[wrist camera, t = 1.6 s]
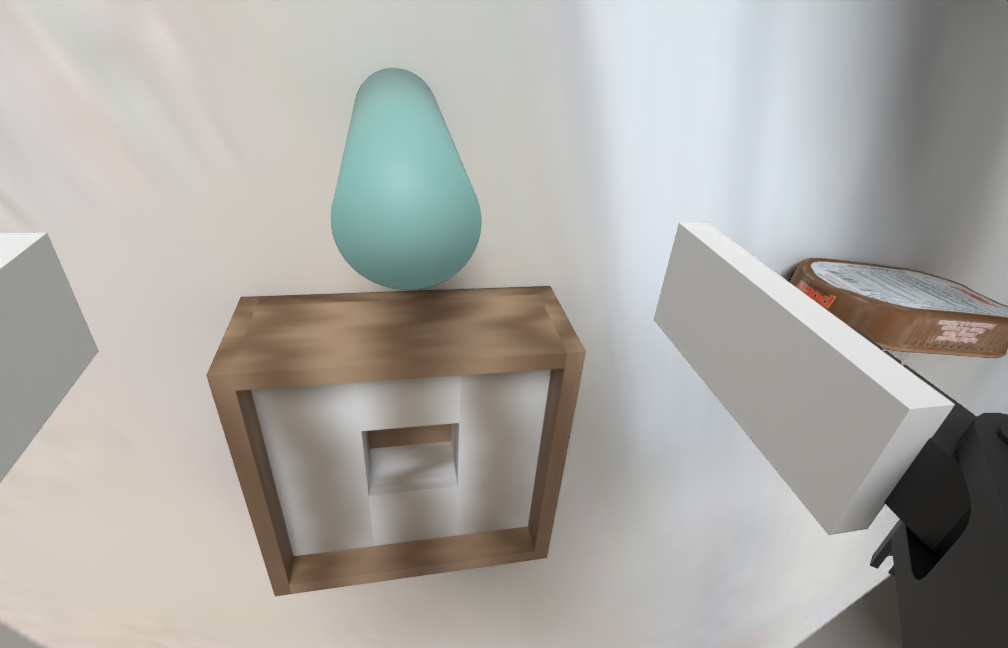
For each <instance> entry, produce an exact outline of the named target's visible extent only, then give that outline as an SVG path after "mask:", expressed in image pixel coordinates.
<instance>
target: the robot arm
mask: <svg viewBox="0 0 1008 648" xmlns="http://www.w3.org/2000/svg"><path fill="white" fill-rule="evenodd" d="M654 321H655V322H656V323H657V324H658V326H659V327H660V328H661V329H662V331H663V332H664V333H665V334H666V336H667V337H668V338H669V339H670V340H671V342H672V343H673V344H674V345H675V347H676V348H677V349H678V350H679V352H680V353H681V354H682V355H683V356H684V358H685V359H686V360H687V361H688V363H689V364H690V365H691V366H692V368H693V369H694V370H695V371H696V372H697V374H698V375H699V376H700V377H701V379H702V380H703V381H704V382H705V384H706V385H707V386H708V387H709V388H710V390H711V391H712V392H713V393H714V395H715V396H716V397H717V398H718V400H719V401H720V402H721V403H722V404H723V406H724V407H725V408H726V409H727V411H728V412H729V413H730V414H731V416H732V417H733V418H734V419H735V420H736V422H737V423H738V424H739V425H740V427H741V428H742V429H743V430H744V432H745V433H746V434H747V435H748V436H749V438H750V439H751V440H752V441H753V443H754V444H755V445H756V446H757V448H758V449H759V450H760V451H761V452H762V454H763V455H764V456H765V457H766V459H767V460H768V461H769V462H770V464H771V465H772V466H773V467H774V468H775V470H776V471H777V472H778V473H779V475H780V476H781V477H782V478H783V480H784V481H785V482H786V483H787V484H788V486H789V487H790V488H791V489H792V491H793V492H794V493H795V494H796V496H797V497H798V498H799V499H800V500H801V502H802V503H803V504H804V505H805V507H806V508H807V509H808V510H809V512H810V513H811V514H812V515H813V516H814V518H815V519H816V520H817V521H818V523H819V524H820V525H821V526H822V528H823V529H824V530H825V531H826V532H827V534H828V535H832V534H839V533H845V532H851V531H857V530H864V529H868V527H869V526H870V525H871V523H872V522H873V520H874V519H875V518H876V516H877V515H878V513H879V512H880V510H881V509H882V508H883V506H884V505H885V504H886V505H887V506H888V507H889V508H890V509H891V510H892V511H893V512H894V513H895V514H896V515H897V516H898V517H899V518H900V519H899V521H898V522H897V523H896V525H895V526H894V527H893V529H892V530H891V531H890V533H889V534H888V536H887V537H886V538H885V540H884V541H883V542H882V544H881V545H880V546H879V548H878V549H877V550H876V552H875V553H874V554H873V556H872V559H871V563H870V566H873V567H875V568H877V569H878V567H879V566H880V565H881V563H882V562H883V561H884V559H885V558H886V557H888V556H893V561H894V565H893V567H892V568H891V569H890V570H889V574H892V575H894V576H895V580H896V589H897V598H898V608H899V618H900V627H901V636H902V646H903V648H1008V415H1007V414H1002V413H983V414H981V415H979V416H975V415H974V414H972V413H971V412H970V411H968V410H967V409H966V408H964V407H963V406H962V405H960V404H959V403H957V402H956V401H955V400H953V399H952V398H951V397H949V396H948V395H946V394H945V393H944V392H942V391H941V390H940V389H938V388H937V387H935V386H934V385H933V384H931V383H930V382H929V381H927V380H926V379H925V378H923V377H922V376H920V375H919V374H918V373H916V372H915V371H914V370H912V369H911V368H909V367H908V366H907V365H901V361H900V360H898V359H897V358H896V357H894V356H893V355H892V354H890V353H889V352H888V351H883V350H882V347H881V346H879V345H878V344H877V343H875V342H874V341H872V340H871V339H870V338H868V337H867V336H866V335H864V334H863V333H861V332H860V331H858V330H856V329H854V328H852V327H850V326H848V325H846V324H845V323H844V322H842V321H841V320H840V319H838V318H837V317H836V316H834V315H833V314H831V313H830V312H829V311H827V310H826V309H825V308H823V307H822V306H821V305H819V304H818V303H817V302H815V301H814V300H812V299H811V298H810V297H808V296H807V295H806V294H804V293H803V292H802V291H800V290H799V289H798V288H796V287H795V286H793V285H792V284H791V283H789V282H788V281H787V280H785V279H784V278H783V277H781V276H780V275H779V274H777V273H776V272H774V271H773V270H772V269H770V268H769V267H768V266H766V265H765V264H764V263H762V262H761V261H759V260H758V259H757V258H755V257H754V256H753V255H751V254H750V253H749V252H747V251H746V250H745V249H743V248H742V247H740V246H739V245H738V244H736V243H735V242H734V241H732V240H731V239H730V238H728V237H727V236H726V235H724V234H723V233H721V232H720V231H719V230H717V229H716V228H715V227H713V226H712V225H711V224H709V223H708V222H698V223H679V225H678V229H677V232H676V236H675V240H674V244H673V248H672V252H671V255H670V259H669V263H668V267H667V271H666V274H665V278H664V282H663V286H662V290H661V294H660V297H659V301H658V305H657V309H656V313H655V316H654ZM97 353H98V349H97V346H96V344H95V342H94V339H93V337H92V335H91V333H90V330H89V328H88V326H87V323H86V321H85V319H84V316H83V314H82V312H81V310H80V307H79V305H78V303H77V300H76V298H75V296H74V293H73V291H72V289H71V287H70V284H69V282H68V280H67V277H66V275H65V273H64V271H63V268H62V266H61V264H60V261H59V259H58V257H57V254H56V252H55V250H54V248H53V245H52V243H51V241H50V238H49V236H48V234H47V233H0V483H1V481H2V480H3V479H4V477H5V476H6V475H7V473H8V472H9V471H10V469H11V468H12V467H13V465H14V464H15V463H16V461H17V460H18V459H19V457H20V456H21V455H22V453H23V452H24V451H25V449H26V448H27V447H28V445H29V444H30V443H31V441H32V440H33V438H34V437H35V436H36V434H37V433H38V432H39V430H40V429H41V428H42V426H43V425H44V424H45V422H46V421H47V420H48V418H49V417H50V416H51V414H52V413H53V412H54V410H55V409H56V408H57V406H58V405H59V404H60V402H61V401H62V400H63V398H64V397H65V396H66V394H67V393H68V392H69V390H70V389H71V387H72V386H73V385H74V383H75V382H76V381H77V379H78V378H79V377H80V375H81V374H82V373H83V371H84V370H85V369H86V367H87V366H88V365H89V363H90V362H91V361H92V359H93V358H94V357H95V355H96V354H97Z"/></svg>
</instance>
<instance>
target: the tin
mask: <svg viewBox="0 0 1008 648" xmlns="http://www.w3.org/2000/svg"><path fill="white" fill-rule="evenodd" d="M789 283H791V284H792V285H793V286H795V287H796V288H798V289H799V290H800V291H802V292H803V293H804V294H806V295H807V296H808V297H810V298H811V299H812V300H814V301H815V302H817V303H818V304H819V305H821V306H822V307H823V308H825V309H826V310H827V311H829V312H830V313H831V314H833V315H834V316H836V317H837V318H838V319H840V320H841V321H842V322H844V323H845V324H846V325H848V326H850V327H852V328H854V329H856V330H858V331H860V332H861V333H863V334H864V335H866V336H867V337H868V338H870V339H871V340H872V341H874V342H875V343H877V344H878V345H879V346H881V347H882V348H883V349H888V350H894V351H902V352H917V353H930V354H946V355H957V356H971V357H984V358H1000V357H1003V356H1005V355H1006V353H1007V348H1008V306H1005V305H1002V304H1000V303H998V302H996V301H994V300H992V299H989V298H987V297H985V296H983V295H980V294H978V293H976V292H974V291H972V290H971V289H969V288H968V287H966V286H964V285H962V284H959V283H957V282H954V281H951V280H948V279H944V278H941V277H938V276H934V275H931V274H927V273H923V272H919V271H914V270H909V269H902V268H895V267H888V266H881V265H873V264H866V263H857V262H849V261H841V260H832V259H823V258H810V259H805V260H803V261H802V262H801V263H800V264H799V265H798V267H797V268H796V270H795V272H794V274H793V276H792V278H791V280H790V282H789Z"/></svg>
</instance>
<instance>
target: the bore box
mask: <svg viewBox="0 0 1008 648" xmlns="http://www.w3.org/2000/svg"><path fill="white" fill-rule="evenodd" d="M585 353H586V351H585V350H584V348H583V346H582V344H581V342H580V340H579V338H578V337H577V335H576V333H575V331H574V329H573V327H572V325H571V324H570V322H569V320H568V318H567V316H566V314H565V312H564V311H563V309H562V307H561V305H560V303H559V301H558V299H557V298H556V296H555V294H554V292H553V290H552V288H551V287H550V286H539V287H510V288H482V289H454V290H426V291H398V292H369V293H341V294H313V295H285V296H257V297H241V298H240V300H239V303H238V305H237V307H236V309H235V312H234V314H233V316H232V318H231V321H230V323H229V325H228V328H227V330H226V332H225V334H224V337H223V339H222V341H221V344H220V346H219V348H218V350H217V353H216V355H215V357H214V359H213V362H212V364H211V366H210V369H209V371H208V373H207V379H208V382H209V385H210V388H211V392H212V395H213V398H214V401H215V404H216V408H217V411H218V414H219V417H220V421H221V424H222V427H223V430H224V433H225V437H226V440H227V443H228V446H229V450H230V453H231V456H232V459H233V462H234V466H235V469H236V472H237V475H238V479H239V482H240V485H241V488H242V491H243V495H244V498H245V501H246V504H247V508H248V511H249V514H250V517H251V520H252V524H253V527H254V530H255V533H256V537H257V540H258V543H259V546H260V550H261V553H262V556H263V559H264V562H265V566H266V569H267V572H268V575H269V579H270V582H271V585H272V588H273V591H274V595H275V596H280V595H287V594H294V593H301V592H309V591H316V590H323V589H330V588H337V587H344V586H351V585H358V584H365V583H372V582H379V581H386V580H394V579H401V578H408V577H415V576H422V575H429V574H436V573H443V572H450V571H457V570H464V569H471V568H479V567H486V566H493V565H500V564H507V563H514V562H521V561H528V560H535V559H542V558H547V554H548V549H549V544H550V538H551V533H552V528H553V522H554V517H555V512H556V507H557V501H558V496H559V491H560V485H561V480H562V475H563V470H564V464H565V459H566V454H567V448H568V443H569V438H570V432H571V427H572V422H573V417H574V411H575V406H576V401H577V395H578V390H579V385H580V380H581V374H582V369H583V364H584V358H585Z"/></svg>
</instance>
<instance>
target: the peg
mask: <svg viewBox="0 0 1008 648" xmlns="http://www.w3.org/2000/svg"><path fill="white" fill-rule="evenodd" d="M331 227H332V233H333V237H334V240H335V243H336V245H337V247H338V249H339V251H340V253H341V254H342V256H343V257H344V259H345V260H346V261H347V262H348V264H349V265H350V266H351V267H352V268H353V269H354V270H356V271H357V272H358V273H359V274H361V275H362V276H364V277H365V278H367V279H368V280H370V281H372V282H374V283H377V284H379V285H382V286H385V287H389V288H394V289H401V290H413V289H422V288H426V287H430V286H433V285H436V284H439V283H441V282H443V281H445V280H447V279H448V278H450V277H452V276H453V275H454V274H456V273H457V272H458V271H459V270H460V269H461V268H462V267H463V266H464V265H465V264H466V263H467V261H468V260H469V259H470V258H471V256H472V254H473V252H474V251H475V248H476V246H477V243H478V241H479V237H480V232H481V211H480V206H479V202H478V199H477V196H476V194H475V192H474V189H473V187H472V185H471V182H470V180H469V178H468V175H467V173H466V170H465V168H464V166H463V163H462V161H461V159H460V156H459V154H458V152H457V149H456V147H455V144H454V142H453V140H452V137H451V135H450V133H449V130H448V128H447V126H446V123H445V121H444V118H443V116H442V114H441V111H440V109H439V107H438V104H437V102H436V100H435V97H434V95H433V93H432V91H431V90H430V88H429V87H428V85H427V84H426V83H425V82H424V81H423V80H422V79H421V78H419V77H418V76H417V75H415V74H413V73H412V72H409V71H407V70H403V69H397V68H389V69H383V70H380V71H378V72H376V73H374V74H372V75H371V76H369V77H368V78H367V79H366V80H365V81H364V82H363V84H362V85H361V87H360V88H359V90H358V93H357V95H356V99H355V104H354V108H353V113H352V117H351V122H350V126H349V131H348V135H347V140H346V145H345V149H344V154H343V158H342V163H341V167H340V172H339V176H338V181H337V186H336V190H335V195H334V199H333V204H332V210H331Z"/></svg>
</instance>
